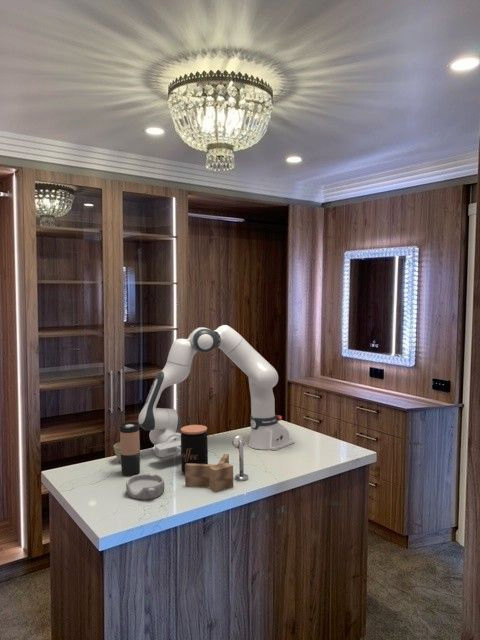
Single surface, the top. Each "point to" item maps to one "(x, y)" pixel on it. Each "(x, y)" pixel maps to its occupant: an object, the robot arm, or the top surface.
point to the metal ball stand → (240, 457)
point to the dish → (145, 486)
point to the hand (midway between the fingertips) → (187, 451)
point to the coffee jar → (194, 445)
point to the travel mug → (130, 448)
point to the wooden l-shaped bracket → (210, 475)
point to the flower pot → (117, 451)
